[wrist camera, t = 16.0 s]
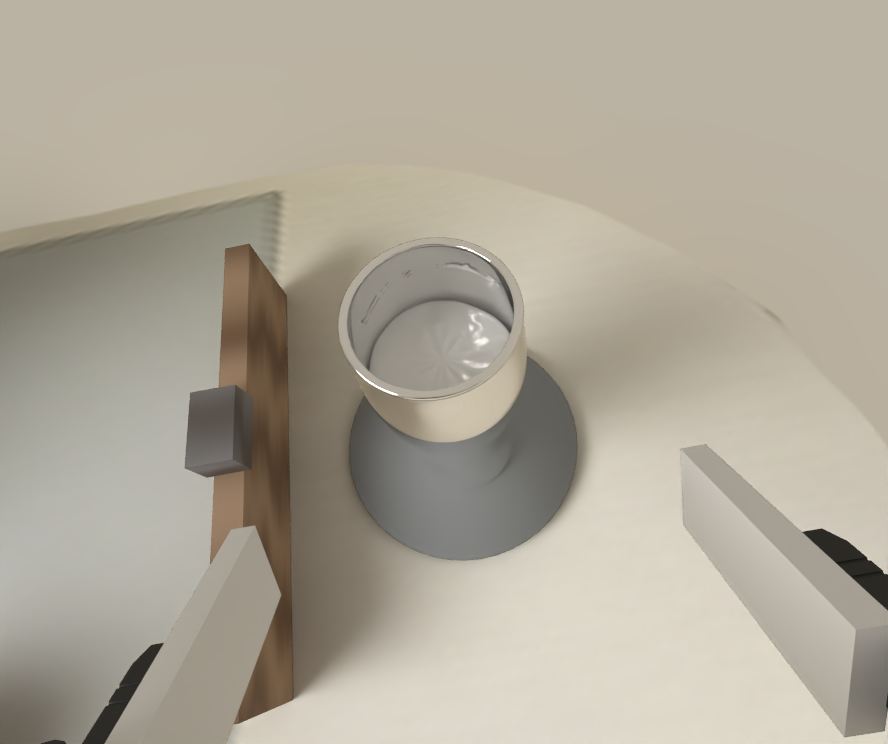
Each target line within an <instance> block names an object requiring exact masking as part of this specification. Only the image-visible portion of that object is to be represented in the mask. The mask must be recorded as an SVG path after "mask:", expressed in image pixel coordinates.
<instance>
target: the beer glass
mask: <svg viewBox="0 0 888 744" xmlns="http://www.w3.org/2000/svg"><path fill="white" fill-rule="evenodd" d="M338 334H339V340H340V344H341V347H342V350H343V353H344V355H345V357H346V359H347V361H348V362H349V364H350V365H351V367H352V369H353V372H354V374H355V376H356V378H357V380H358V383H359V385H360V387H361V389H362V391H363V393H364V395H365V396H366V398H367V400H368V401H369V403H370V405H371V406H372V408H373V410H374V411H375V412H376V414H377V415H378V416H379V417H380V419H381V420H382V421H383V422H384V424H385V425H386V426H387V427H388V428H389V429H390V430H391V431H392V432H393V433H394V434H395V435H397V436H398V437H399V438H400V439H402V440H403V441H404V442H406V443H407V444H409V445H410V446H412V447H413V448H415V450H416V454H417V457H418V460H419V462H420V464H421V465H422V467H423V468H424V470H425V471H426V472H427V473H428V474H429V475H430V476H431V477H432V478H433V479H435V480H436V481H438V482H440V483H442V484H444V485H446V486H449V487H454V488H473V487H477V486H480V485H483V484H485V483H487V482H489V481H491V480H492V479H494V478H495V477H496V476H497V475H498V474H500V473H501V471H502V470H503V469H504V468H505V466H506V465H507V463H508V461H509V459H510V457H511V454H512V451H513V446H514V433H513V428H512V424H511V421H512V419H513V417H514V415H515V413H516V410H517V408H518V405H519V403H520V400H521V397H522V394H523V390H524V384H525V377H526V369H527V345H526V334H525V326H524V305H523V299H522V295H521V291H520V288H519V286H518V283H517V281H516V279H515V278H514V276H513V274H512V273H511V272H510V270H509V269H508V268H507V266H506V265H505V264H504V263H503V262H502V261H501V260H500V259H498V258H497V257H496V256H495V255H493V254H492V253H490V252H489V251H487V250H486V249H484V248H482V247H480V246H477V245H475V244H472V243H469V242H466V241H463V240H458V239H452V238H424V239H418V240H413V241H410V242H406V243H403V244H400V245H398V246H395V247H393V248H391V249H389V250H387V251H385V252H384V253H382V254H380V255H379V256H377V257H376V258H374V259H373V260H372V261H371V262H369V263H368V264H367V265H366V266H365V267H364V268H363V269H362V270H361V271H360V272H359V273H358V274H357V276H356V277H355V278H354V280H353V281H352V282H351V284H350V286H349V287H348V289H347V291H346V293H345V295H344V298H343V300H342V303H341V306H340V311H339V317H338Z"/></svg>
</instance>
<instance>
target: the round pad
mask: <svg viewBox="0 0 888 744" xmlns="http://www.w3.org/2000/svg"><path fill="white" fill-rule="evenodd" d="M511 424H512V428H513V433H514V446H513V451H512V454H511V457H510V459H509V461H508V463H507V465H506V466H505V468H504V469H503V470H502V471H501V473H500V474H498V475H497V476H496V477H495V478H494V479H492V480H491V481H489V482H487V483H485V484H483V485H480V486H477V487H473V488H454V487H449V486H446V485H444V484H442V483H440V482H438V481H436V480H435V479H433V478H432V477H431V476H430V475H429V474H428V473H427V472H426V471H425V470H424V468H423V467H422V465H421V464H420V462H419V460H418V457H417V454H416V450H415V448H413V447H412V446H410V445H409V444H407V443H406V442H404V441H403V440H402V439H400V438H399V437H398V436H397V435H395V434H394V433H393V432H392V431H391V430H390V429H389V428H388V427H387V426H386V425H385V424H384V422H383V421H382V420H381V419H380V417H379V416H378V415H377V414H376V412H375V411H374V410H373V408H372V406H371V405H370V403H369V401H368V400H367V398H366V396H364V398H363V400H362V402H361V403H360V406H359V408H358V410H357V413H356V415H355V418H354V422H353V426H352V430H351V437H350V465H351V473H352V476H353V480H354V483H355V487H356V489H357V492H358V494H359V496H360V498H361V501H362V502H363V504H364V506H365V507H366V509H367V510H368V512H369V514H370V515H371V516H372V517H373V518H374V520H375V521H376V522H377V523H378V525H380V526H381V527H382V528H383V529H384V530H385V531H386V532H387V533H388V534H389V535H391V536H392V537H393V538H395V539H396V540H398V541H399V542H401V543H402V544H404V545H406V546H408V547H410V548H412V549H414V550H416V551H418V552H420V553H423V554H426V555H429V556H432V557H437V558H442V559H448V560H474V559H483V558H487V557H491V556H495V555H498V554H501V553H503V552H506V551H508V550H511V549H513V548H515V547H516V546H518V545H520V544H522V543H524V542H525V541H527V540H528V539H529V538H531V537H532V536H533V535H535V534H536V533H537V532H538V531H539V530H540V529H541V528H542V527H543V526H544V525H545V524H546V523H547V522H548V521H549V520H550V519H551V518H552V516H553V515H554V514H555V512H556V511H557V510H558V508H559V507H560V505H561V503H562V501H563V499H564V497H565V495H566V494H567V492H568V489H569V486H570V484H571V481H572V478H573V474H574V470H575V465H576V457H577V436H576V429H575V424H574V419H573V416H572V413H571V410H570V407H569V404H568V402H567V401H566V399H565V397H564V395H563V393H562V391H561V390H560V388H559V387H558V385H557V384H556V382H555V381H554V380H553V379H552V377H551V376H550V375H549V374H548V373H547V372H546V371H545V370H544V369H543V368H542V367H541V366H540V365H538V364H537V363H536V362H535V361H534V360H532V359H530V358H529V357H527V369H526V377H525V384H524V390H523V394H522V397H521V400H520V403H519V405H518V408H517V410H516V413H515V415H514V417H513V419H512V421H511Z"/></svg>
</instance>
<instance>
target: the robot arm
mask: <svg viewBox="0 0 888 744" xmlns="http://www.w3.org/2000/svg"><path fill="white" fill-rule="evenodd" d="M680 456H681V482H682V508H683V525H684V527H685V528H686V529H687V531H688V532H689V533H690V535H691V536H692V537H693V539H694V540H695V541H696V543H697V544H698V545H699V546H700V548H701V549H702V550H703V552H704V553H705V554H706V556H707V557H708V558H709V560H710V561H711V562H712V564H713V565H714V566H715V568H716V569H717V570H718V572H719V573H720V574H721V575H722V577H723V578H724V579H725V581H726V582H727V583H728V585H729V586H730V587H731V589H732V590H733V591H734V593H735V594H736V595H737V597H738V598H739V599H740V601H741V602H742V603H743V604H744V606H745V607H746V608H747V610H748V611H749V612H750V614H751V615H752V616H753V618H754V619H755V620H756V622H757V623H758V624H759V626H760V627H761V628H762V630H763V631H764V632H765V633H766V635H767V636H768V637H769V639H770V640H771V641H772V643H773V644H774V645H775V647H776V648H777V649H778V651H779V652H780V653H781V655H782V656H783V657H784V659H785V660H786V661H787V662H788V664H789V665H790V666H791V668H792V669H793V670H794V672H795V673H796V674H797V676H798V677H799V678H800V680H801V681H802V682H803V684H804V685H805V686H806V687H807V689H808V690H809V691H810V693H811V694H812V695H813V697H814V698H815V699H816V701H817V702H818V703H819V705H820V706H821V707H822V709H823V710H824V711H825V713H826V714H827V715H828V716H829V718H830V719H831V720H832V722H833V723H834V724H835V726H836V727H837V728H838V730H839V731H840V732H841V734H842V735H843V736H844V737H850V736H856V735H863V734H869V733H875V732H882V731H885V725H886V718H887V711H888V575H887V574H884V573H883V570H881V569H880V568H879V567H878V566H877V565H875V564H874V563H873V562H872V561H871V560H870V561H868V560H867V557H866V556H865V555H863V554H862V553H861V552H860V551H859V550H857V549H856V548H855V547H854V546H853V545H851V544H850V543H849V542H848V541H846V540H844V539H842V538H840V537H838V536H836V535H834V534H832V533H830V532H828V531H826V530H824V529H817V530H811V531H805V532H801V531H800V530H799V529H798V528H797V527H796V526H795V525H794V524H793V523H791V522H790V521H789V520H788V519H787V518H786V517H785V516H784V515H783V514H782V513H781V512H779V511H778V510H777V509H776V508H775V507H774V506H773V505H772V504H771V503H770V502H768V501H767V500H766V499H765V498H764V497H763V496H762V495H761V494H760V493H759V492H758V491H756V490H755V489H754V488H753V487H752V486H751V485H750V484H749V483H748V482H747V481H746V480H744V479H743V478H742V477H741V476H740V475H739V474H738V473H737V472H736V471H735V470H734V469H732V468H731V467H730V466H729V465H728V464H727V463H726V462H725V461H724V460H723V459H722V458H720V457H719V456H718V455H717V454H716V453H715V452H714V451H713V450H712V449H711V448H710V447H708V446H707V445H706V444H704V445H699V446H693V447H688V448H682V449H680ZM280 597H281V593H280V590H279V587H278V585H277V582H276V579H275V577H274V574H273V572H272V569H271V566H270V564H269V561H268V558H267V556H266V553H265V551H264V548H263V545H262V543H261V540H260V537H259V535H258V532H257V529H256V527H255V525H254V526H249V527H243V528H238V529H232V530H231V531H230V532H229V534H228V536H227V537H226V539H225V541H224V542H223V544H222V546H221V548H220V549H219V551H218V553H217V554H216V556H215V558H214V559H213V561H212V563H211V564H210V566H209V568H208V570H207V571H206V573H205V575H204V576H203V578H202V580H201V581H200V583H199V585H198V586H197V588H196V590H195V592H194V593H193V595H192V597H191V598H190V600H189V602H188V603H187V605H186V607H185V608H184V610H183V612H182V614H181V615H180V617H179V619H178V620H177V622H176V624H175V625H174V627H173V629H172V630H171V632H170V634H169V636H168V637H167V639H166V641H165V642H164V643H161V644H155V645H151V646H150V647H149V648H148V649H147V650H146V651H145V652H144V653H143V654H142V655H141V656H140V657H139V658H138V659H137V660H136V661H135V662H134V663H133V664H132V666H131V667H130V669H129V670H128V672H127V674H126V675H125V677H124V678H123V680H122V681H121V683H120V685H119V686H120V687H119V689H116V691H115V693H114V694H113V696H112V697H111V699H110V700H109V705H108V706H106V707H105V708H104V710H103V712H102V713H101V715H100V716H99V718H98V719H97V721H96V723H95V724H94V726H93V727H92V729H91V731H90V732H89V734H88V735H87V737H86V738H85V740H84V742H83V743H82V744H226V743H227V740H228V737H229V735H230V732H231V729H232V727H233V724H234V721H235V719H236V716H237V713H238V710H239V708H240V705H241V702H242V700H243V697H244V694H245V692H246V689H247V686H248V683H249V681H250V678H251V675H252V673H253V670H254V667H255V665H256V662H257V659H258V657H259V654H260V651H261V648H262V646H263V643H264V640H265V638H266V635H267V632H268V630H269V627H270V624H271V621H272V619H273V616H274V613H275V611H276V608H277V605H278V603H279V600H280ZM41 744H66V743H65V741H60V740H52V741H48V742H44V743H41Z"/></svg>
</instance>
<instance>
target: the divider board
mask: <svg viewBox="0 0 888 744" xmlns="http://www.w3.org/2000/svg"><path fill="white" fill-rule="evenodd" d="M185 468H186V469H188V470H190V471H193V472H195V473H197V474H200V475H202V476H205V477H213V476H214V495H213V515H212V536H211V556H210V564H211V563H212V561H213V559H214V558H215V556H216V554H217V553H218V551H219V549H220V548H221V546H222V544H223V542H224V541H225V539H226V537H227V536H228V534H229V532H230V531H231V530H232V529H238V528H243V527H249V526H254V525H255V527H256V529H257V532H258V535H259V537H260V540H261V543H262V545H263V548H264V551H265V553H266V556H267V558H268V561H269V564H270V566H271V569H272V572H273V574H274V577H275V579H276V582H277V585H278V587H279V590H280V593H281V597H280V600H279V603H278V605H277V608H276V611H275V613H274V616H273V619H272V621H271V624H270V627H269V630H268V632H267V635H266V638H265V640H264V643H263V646H262V648H261V651H260V654H259V657H258V659H257V662H256V665H255V667H254V670H253V673H252V675H251V678H250V681H249V683H248V686H247V689H246V692H245V694H244V697H243V700H242V702H241V705H240V708H239V710H238V713H237V716H236V719H235V721H234V724H239V723H241V722H243V721H246V720H248V719H250V718H253V717H255V716H257V715H259V714H262V713H264V712H266V711H269V710H271V709H273V708H276V707H278V706H280V705H283V704H285V703H287V702H289V701H292V700H293V671H292V610H291V548H290V487H289V425H288V364H287V302H286V294H285V293H284V291H283V290H282V289H281V287H280V286H279V284H278V283H277V282H276V280H275V279H274V277H273V276H272V275H271V273H270V272H269V270H268V269H267V268H266V266H265V265H264V264H263V262H262V261H261V259H260V258H259V257H258V255H257V254H256V252H255V251H254V250H253V248H252V247H251V245H250V244H246V245H241V246H236V247H231V248H226V249H225V268H224V289H223V309H222V330H221V351H220V371H219V388H214V389H208V390H203V391H198V392H192V393H190V404H189V417H188V431H187V444H186V457H185Z"/></svg>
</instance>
